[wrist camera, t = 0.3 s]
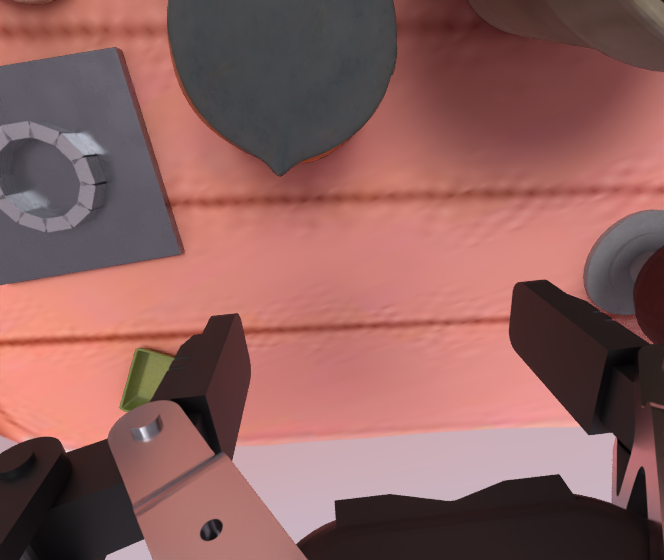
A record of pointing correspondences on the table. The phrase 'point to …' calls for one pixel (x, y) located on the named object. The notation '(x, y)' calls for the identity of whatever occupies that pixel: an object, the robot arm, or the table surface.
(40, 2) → the pedestal
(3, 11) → the table surface
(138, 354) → the olive green shallow tray
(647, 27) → the plant pot
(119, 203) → the hub plate
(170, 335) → the table surface
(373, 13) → the beer stein
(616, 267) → the mate gourd
